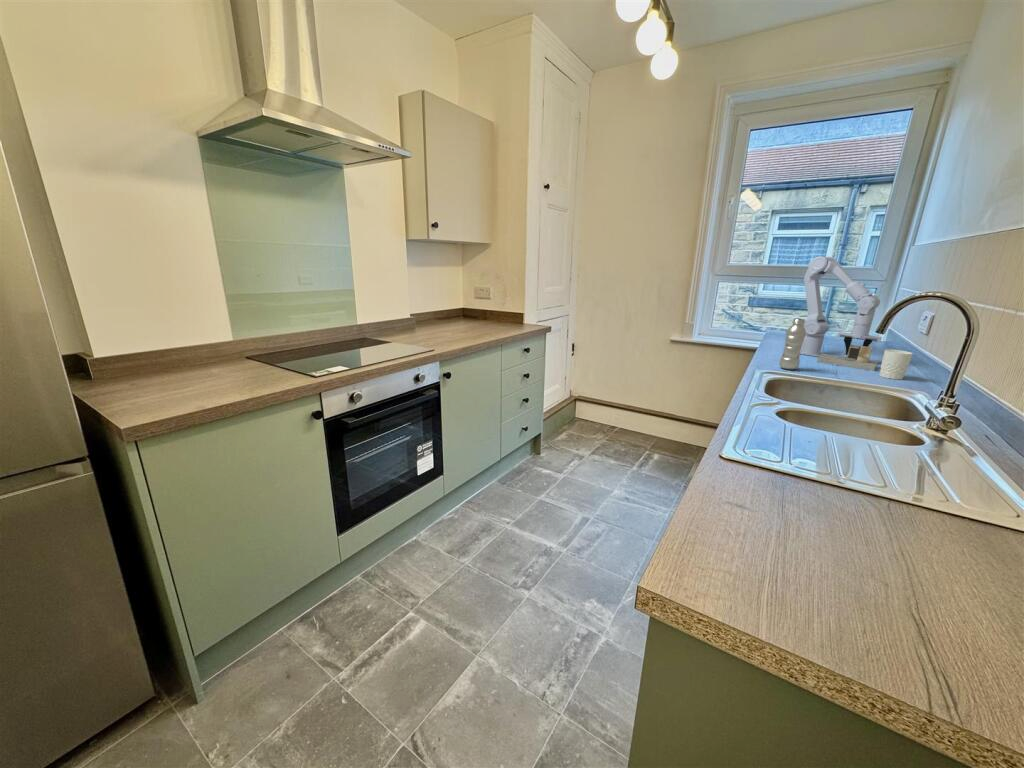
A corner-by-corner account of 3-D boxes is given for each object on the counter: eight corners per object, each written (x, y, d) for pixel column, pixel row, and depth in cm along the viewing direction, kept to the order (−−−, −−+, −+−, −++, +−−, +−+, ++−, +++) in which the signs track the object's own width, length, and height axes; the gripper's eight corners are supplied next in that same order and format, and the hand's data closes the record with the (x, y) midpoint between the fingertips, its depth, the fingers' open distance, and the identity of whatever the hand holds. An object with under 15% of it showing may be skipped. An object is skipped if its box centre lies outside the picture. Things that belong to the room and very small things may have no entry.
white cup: (872, 375, 157) (880, 350, 154) (883, 373, 160) (891, 348, 157) (898, 381, 150) (906, 354, 147) (909, 379, 154) (917, 353, 151)
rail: (816, 362, 177) (818, 356, 176) (820, 359, 182) (821, 353, 181) (873, 371, 164) (875, 364, 163) (875, 367, 169) (877, 361, 168)
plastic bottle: (801, 371, 160) (814, 320, 154) (784, 370, 160) (796, 319, 154) (791, 367, 166) (802, 318, 160) (774, 366, 166) (785, 317, 161)
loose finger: (846, 360, 181) (850, 345, 179) (858, 362, 178) (862, 346, 176) (845, 362, 178) (849, 346, 176) (856, 363, 175) (861, 348, 173)
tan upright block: (867, 363, 169) (872, 347, 167) (866, 365, 167) (871, 348, 165) (855, 362, 172) (859, 345, 170) (854, 363, 169) (858, 346, 167)
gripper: (839, 323, 176) (831, 354, 180) (883, 327, 166) (874, 360, 170) (842, 321, 180) (834, 351, 184) (885, 326, 171) (876, 357, 175)
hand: (853, 355), depth 178 cm, fingers closed on loose finger, 4 cm apart
